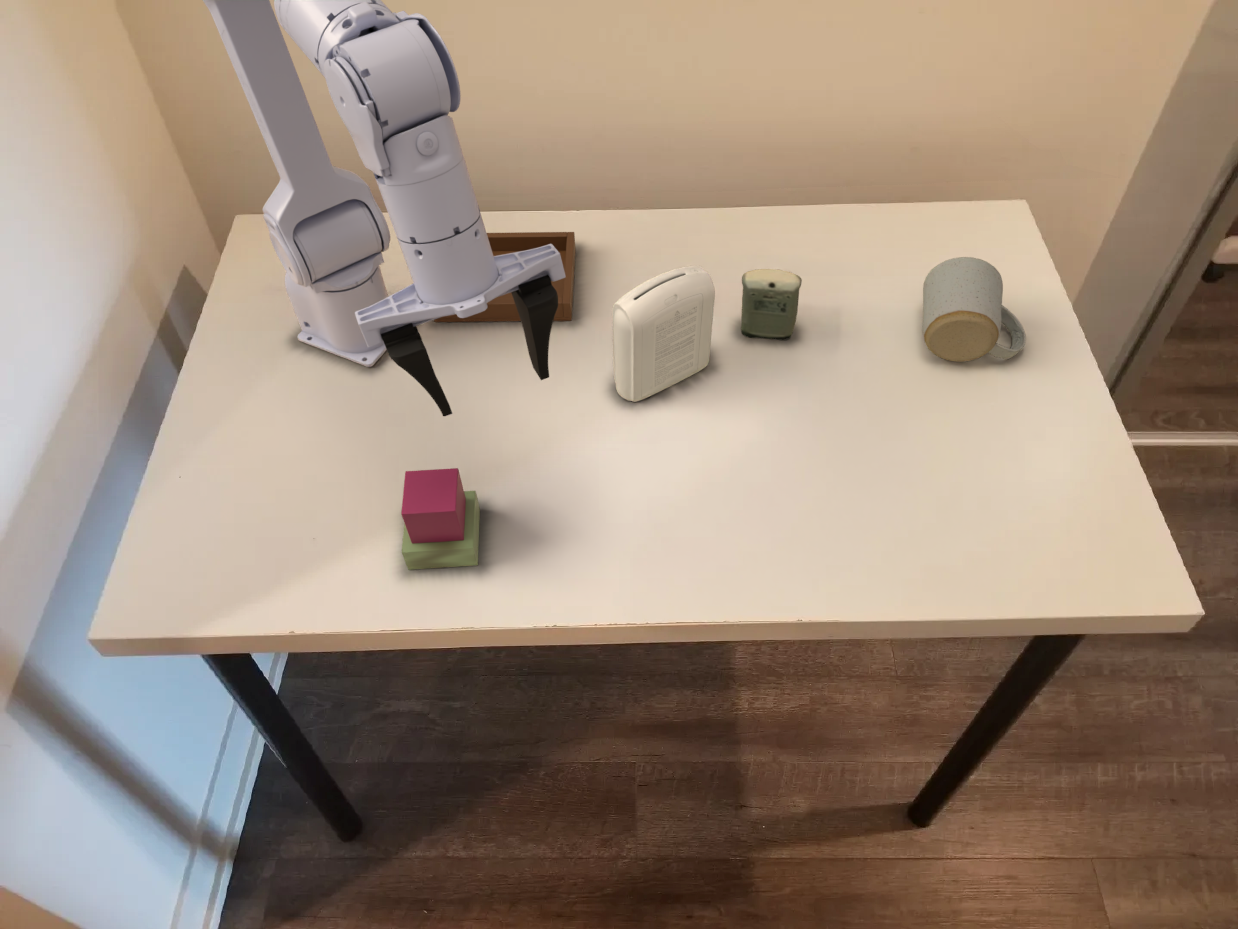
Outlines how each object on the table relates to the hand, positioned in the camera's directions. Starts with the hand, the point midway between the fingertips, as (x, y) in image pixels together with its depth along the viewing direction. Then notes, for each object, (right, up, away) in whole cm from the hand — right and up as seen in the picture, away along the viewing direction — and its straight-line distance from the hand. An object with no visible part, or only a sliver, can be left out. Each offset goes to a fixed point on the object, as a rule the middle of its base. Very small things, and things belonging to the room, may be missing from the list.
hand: (493, 390), depth 70 cm
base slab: (-6, -12, +12) cm, 18 cm away
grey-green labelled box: (+24, +8, +27) cm, 38 cm away
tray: (-3, +14, +32) cm, 36 cm away
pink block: (-6, -10, +10) cm, 16 cm away
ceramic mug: (+45, +7, +26) cm, 53 cm away
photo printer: (+14, +3, +24) cm, 28 cm away
